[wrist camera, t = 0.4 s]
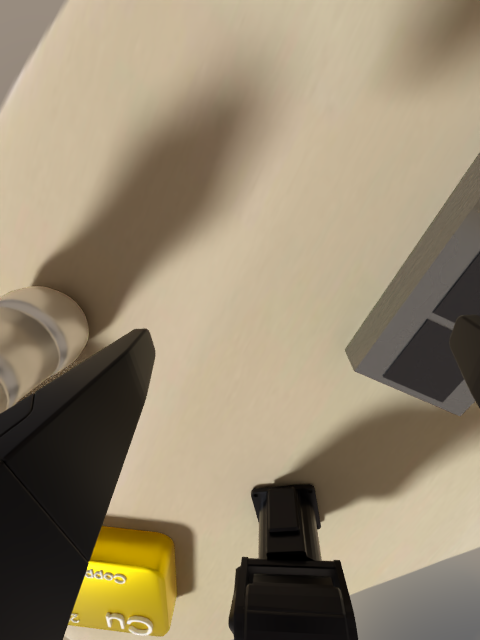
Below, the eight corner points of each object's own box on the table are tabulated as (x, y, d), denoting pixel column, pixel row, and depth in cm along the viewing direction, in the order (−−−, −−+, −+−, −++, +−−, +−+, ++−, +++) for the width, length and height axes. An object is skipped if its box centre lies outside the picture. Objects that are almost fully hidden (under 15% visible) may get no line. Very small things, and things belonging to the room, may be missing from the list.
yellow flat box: (174, 530, 37) (162, 577, 33) (178, 597, 43) (168, 644, 39) (52, 516, 38) (25, 560, 34) (73, 585, 44) (52, 629, 40)
